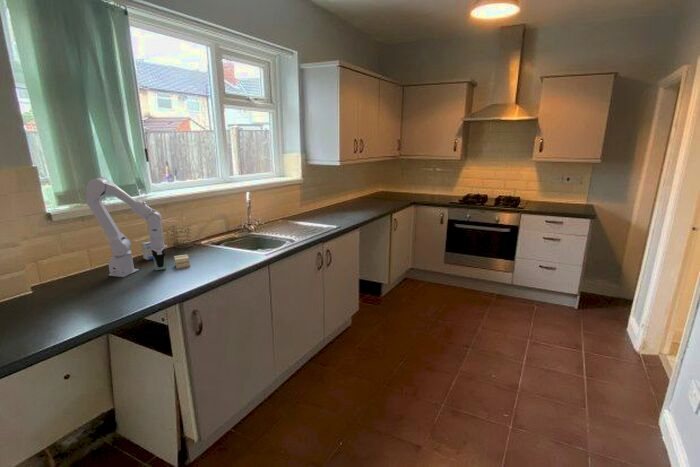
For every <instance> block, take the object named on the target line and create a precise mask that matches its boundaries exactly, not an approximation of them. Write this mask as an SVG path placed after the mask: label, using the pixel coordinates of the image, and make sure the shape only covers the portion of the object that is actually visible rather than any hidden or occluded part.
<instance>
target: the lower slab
mask: <svg viewBox="0 0 700 467" xmlns="http://www.w3.org/2000/svg"><path fill="white" fill-rule="evenodd" d="M174 265H175V268H176V269H182V268H190V267H191V262H190V261H189V263H183V264H175V263H174Z"/></svg>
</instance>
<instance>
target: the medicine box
mask: <svg viewBox="0 0 700 467" xmlns="http://www.w3.org/2000/svg"><path fill="white" fill-rule="evenodd" d="M141 249H142V256H143V259H144V260H147V261H150V260H154V256H153V255H152V251H151V244H150V240H149V241H145V242H141Z"/></svg>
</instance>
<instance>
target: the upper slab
mask: <svg viewBox="0 0 700 467" xmlns="http://www.w3.org/2000/svg"><path fill="white" fill-rule="evenodd" d="M173 259H174V265H175V264H183V263H189V262H190V258H189V255H188V254H180V255H174V256H173Z"/></svg>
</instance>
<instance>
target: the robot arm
mask: <svg viewBox="0 0 700 467" xmlns="http://www.w3.org/2000/svg"><path fill="white" fill-rule="evenodd" d="M85 190H86V192H85V193H86V195H85V202H86V205H87V206H88V207H89V208H90V210H91V212H92V214H93V215H94V217H95V218H96V220H97V222H98V224H99V225H100V226H101V228H102V229H103V231H104V233H105V235H106V236H107V238H108V243H109V246H110V251H111V253H112V255H113V256H112V257H111V258H110V259H108V260H107V261H108V262H107V265H108V270H109V274H108V276H110V277H117V278H118V277H119V278H125V277H127V276H129V275H131V274H134V273H136V272H138V271H139V268H135V267H134V260H133V259H134V258H133V252H132V251H131V247H132V241H131V240H130V239H129V238H127V237H126V235H125V234H123V232H121V231H120V229H119V228H118V226H117V224H116V222H115V221H114V219H113V218H112V216H111V214H110V213H109V211H108V209H107V207H106V206H105V205H104V203H103V201H102V200H103V197H104V196H105V195H107V196H108V195H110V196H114V197H115V198H117V199H119V200H120V201H122V202H124V203H126V205H128V206H130V210H131V211H132V212H133V213H134V214H136V215H138V217H140V218H142V219H143V220H145V222H146V224H147V225H148V234H149V241H150V244H151V251H152V255H153V256H154V258H155V260H156V262H157V266H158V267H163V265H164V257H165V258H166V254H167V252H166V251H165V249H166V248H168V245H167V244H165V239H164V230H163V224H162V219H163V216H162V214H161V213H160V212H159V211H158V210H156V209H155V208H152V207H150V206H148V205H147V202H146V201H144V200H143V201H142V200H136V199H134V197H132V196H131V195H129V194H128V193H127V192H126V191H124V190H123V189H122V188H121V187H119V186H118V185H117V184H115V183H114V182H113V181H110V180H109V179H108V178H106V177H103V176H100V177H99V176H98V177H97V178H92V179H91V180H89V181H88V182H87V184H86V186H85Z"/></svg>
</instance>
